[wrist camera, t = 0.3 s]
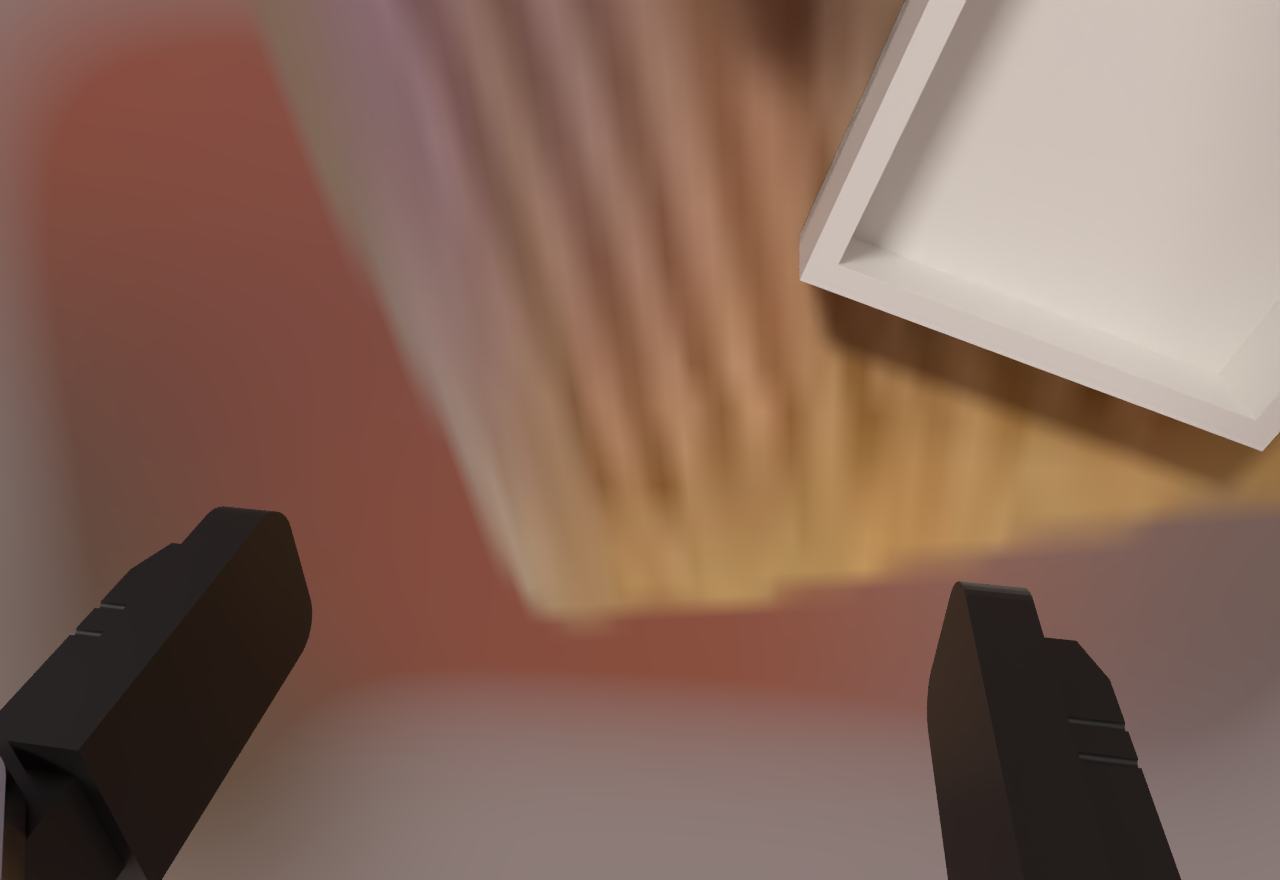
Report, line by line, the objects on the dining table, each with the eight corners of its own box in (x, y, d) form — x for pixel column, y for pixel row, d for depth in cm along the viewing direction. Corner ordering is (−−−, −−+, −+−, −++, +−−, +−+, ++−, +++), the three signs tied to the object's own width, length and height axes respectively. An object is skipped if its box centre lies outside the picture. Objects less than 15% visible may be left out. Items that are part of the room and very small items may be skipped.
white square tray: (1075, -379, 25) (1123, -420, 22) (1645, -140, 26) (1786, -140, 23) (799, 235, 36) (799, 280, 32) (1215, 390, 37) (1262, 451, 33)
